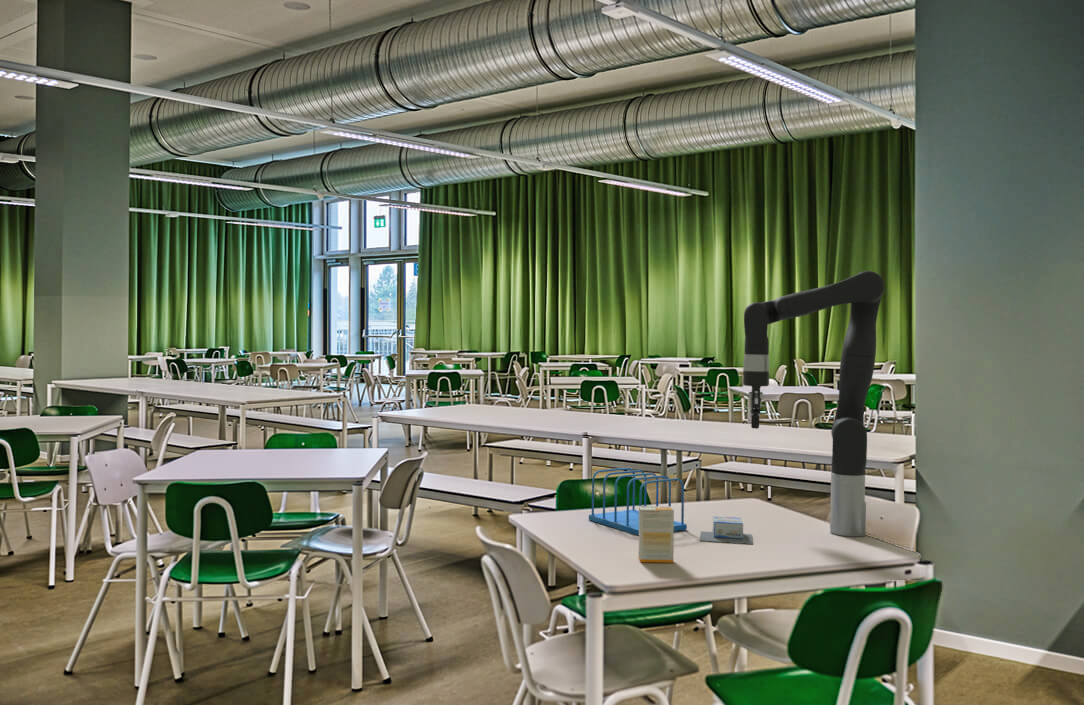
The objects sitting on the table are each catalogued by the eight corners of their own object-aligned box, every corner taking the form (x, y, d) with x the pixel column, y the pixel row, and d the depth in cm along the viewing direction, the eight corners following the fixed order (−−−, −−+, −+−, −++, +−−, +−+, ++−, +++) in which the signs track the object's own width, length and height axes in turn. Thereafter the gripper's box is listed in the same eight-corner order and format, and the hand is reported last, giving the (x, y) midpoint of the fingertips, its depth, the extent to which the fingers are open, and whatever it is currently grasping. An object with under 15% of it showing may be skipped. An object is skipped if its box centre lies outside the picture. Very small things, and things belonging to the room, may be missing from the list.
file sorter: (588, 520, 264) (588, 470, 264) (633, 515, 273) (634, 466, 273) (639, 536, 243) (640, 481, 243) (687, 530, 252) (688, 477, 252)
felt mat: (751, 535, 246) (751, 534, 246) (752, 544, 235) (752, 543, 235) (700, 532, 249) (700, 531, 249) (699, 541, 237) (699, 540, 237)
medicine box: (741, 517, 248) (743, 523, 239) (740, 533, 248) (743, 539, 239) (712, 516, 249) (714, 521, 240) (712, 532, 249) (713, 538, 240)
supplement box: (671, 558, 217) (672, 505, 217) (673, 563, 212) (674, 509, 212) (637, 558, 217) (638, 505, 217) (639, 562, 212) (640, 508, 212)
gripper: (770, 370, 253) (769, 430, 253) (768, 369, 266) (767, 426, 266) (743, 370, 254) (742, 429, 254) (742, 369, 267) (741, 426, 267)
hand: (755, 428), depth 260 cm, fingers closed
